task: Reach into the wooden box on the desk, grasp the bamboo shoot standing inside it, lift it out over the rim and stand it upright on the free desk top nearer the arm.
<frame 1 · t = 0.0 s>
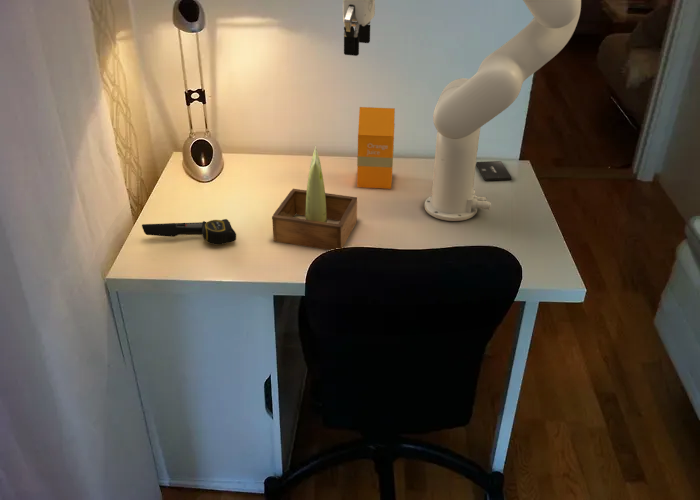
hand: (357, 48, 153), 37 cm above the table, tool pointing down, fingers open, 9 cm apart
solid state drive: (493, 172, 185), on the table
bamboo shoot: (316, 231, 159), resting in wooden box
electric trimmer: (180, 236, 155), point 1 cm above the table, touching tape measure
wooden box: (316, 231, 159), on the table
tape measure: (221, 239, 155), on the table, touching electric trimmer
orange juice: (374, 182, 180), on the table
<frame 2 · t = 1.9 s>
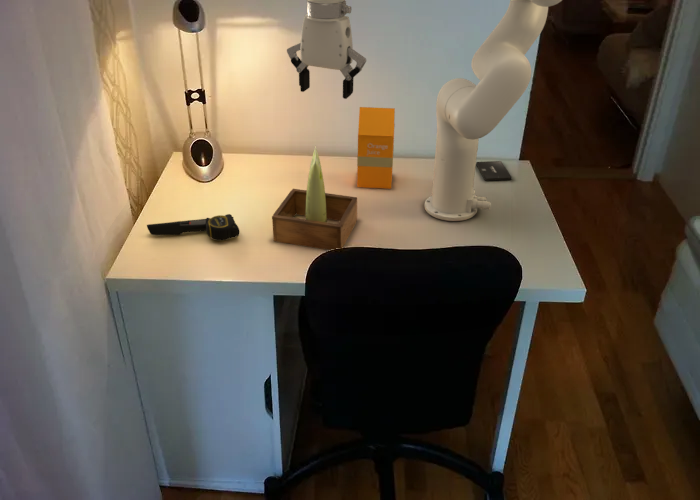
hand: (325, 93, 146), 31 cm above the table, tool pointing down, fingers open, 9 cm apart
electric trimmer: (185, 233, 158), on the table, touching tape measure
tape measure: (225, 235, 157), on the table, touching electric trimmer
everything else where it was.
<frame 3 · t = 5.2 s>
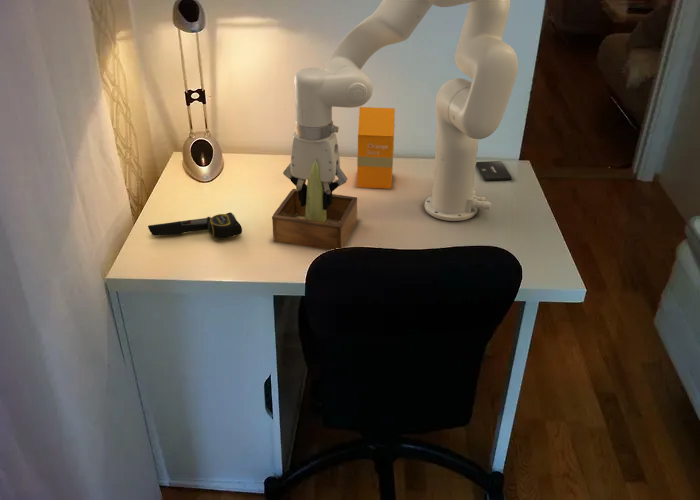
hand: (315, 204, 155), 7 cm above the table, tool pointing down, fingers closed on bamboo shoot, 4 cm apart
bamboo shoot: (316, 231, 159), resting in wooden box, touching gripper
when the fingers open (7 cm above the table, at t = 12.9 s): bamboo shoot stays where it is, on the table.
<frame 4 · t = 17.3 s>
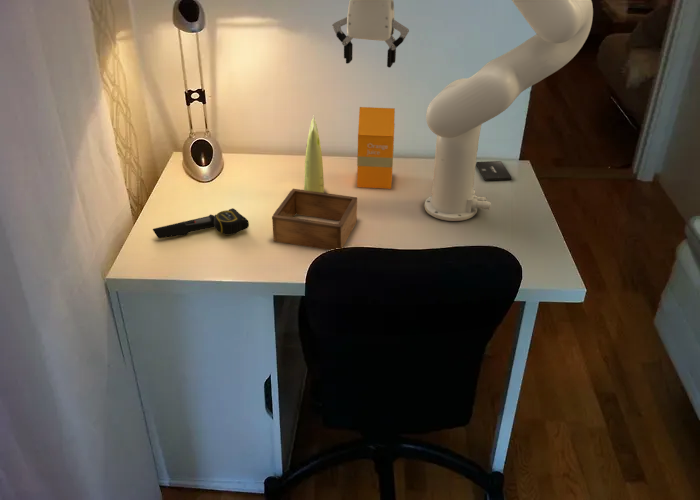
hand: (369, 63, 159), 32 cm above the table, tool pointing down, fingers open, 9 cm apart
bamboo shoot: (314, 194, 174), on the table
tape measure: (232, 229, 159), on the table, touching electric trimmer
at the end: bamboo shoot inside the target area (0.0 cm from its centre), on the table; bamboo shoot tilted 0°; the gripper is holding nothing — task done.
